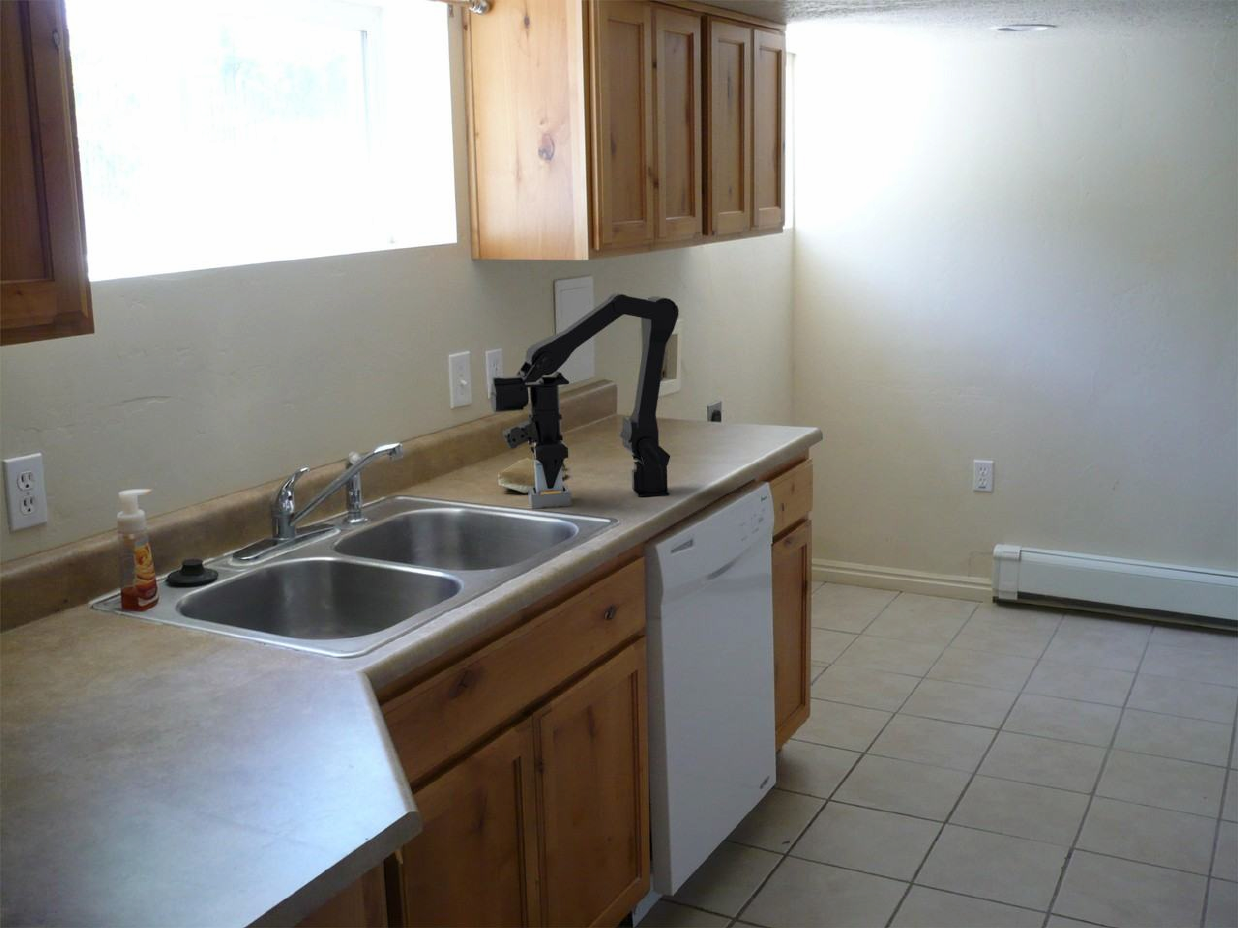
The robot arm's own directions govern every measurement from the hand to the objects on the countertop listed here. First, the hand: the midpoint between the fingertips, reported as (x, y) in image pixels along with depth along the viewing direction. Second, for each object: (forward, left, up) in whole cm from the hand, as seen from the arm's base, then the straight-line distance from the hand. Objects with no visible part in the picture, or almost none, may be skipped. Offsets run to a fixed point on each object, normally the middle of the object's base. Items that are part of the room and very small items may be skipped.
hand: (549, 486), depth 241 cm
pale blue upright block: (0, 0, -1) cm, 1 cm away
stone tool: (+1, -20, -4) cm, 20 cm away
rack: (0, 0, -4) cm, 4 cm away
